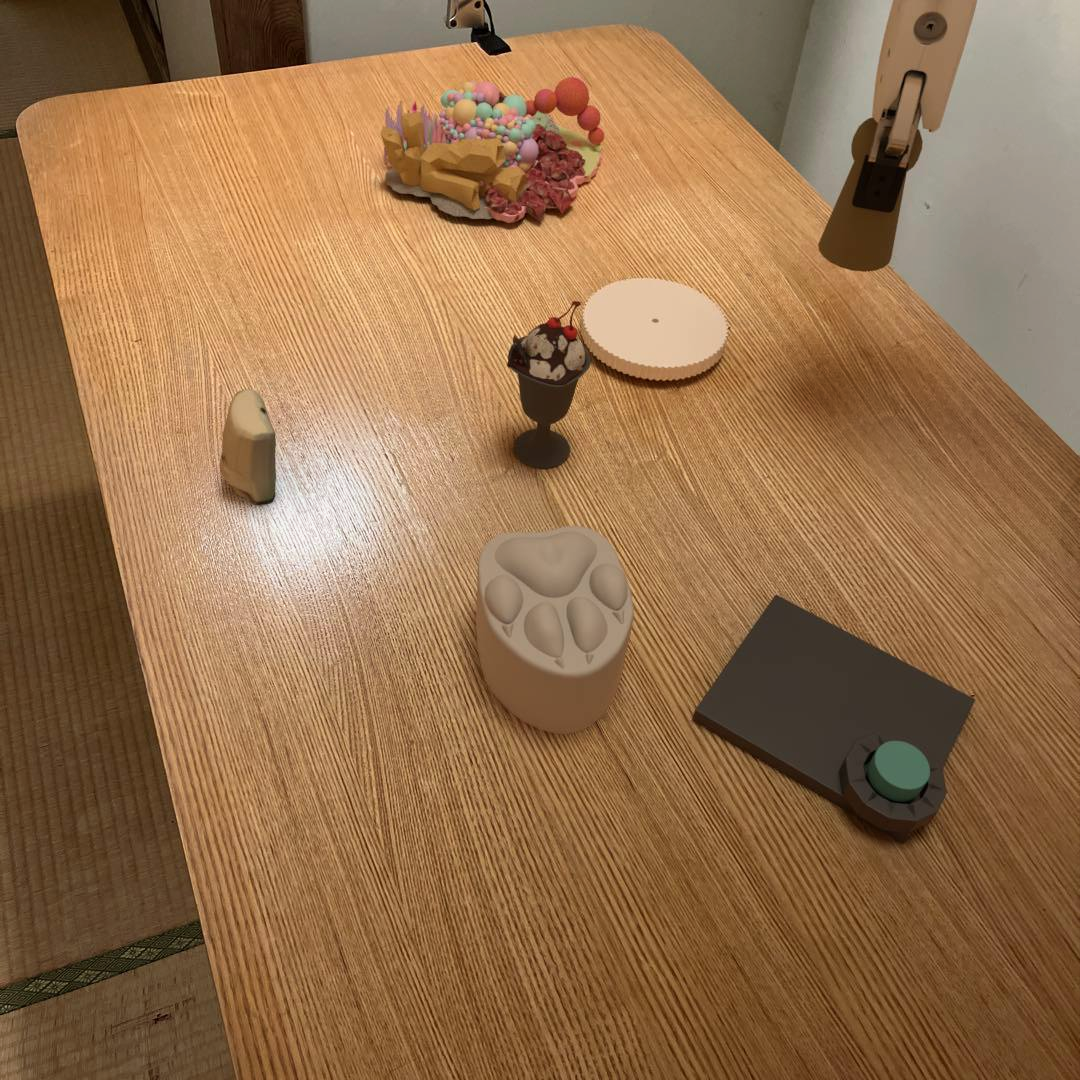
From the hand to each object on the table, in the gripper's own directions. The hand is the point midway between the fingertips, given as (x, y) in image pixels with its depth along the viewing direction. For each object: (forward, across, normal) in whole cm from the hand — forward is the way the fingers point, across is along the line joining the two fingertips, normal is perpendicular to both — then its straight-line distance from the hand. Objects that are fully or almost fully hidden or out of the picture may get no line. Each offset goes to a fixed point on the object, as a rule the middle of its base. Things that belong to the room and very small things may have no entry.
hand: (874, 186), depth 85 cm
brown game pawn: (+6, 0, 0) cm, 6 cm away
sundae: (+21, -15, +22) cm, 34 cm away
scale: (+22, -35, -5) cm, 42 cm away
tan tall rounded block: (+21, -27, +43) cm, 55 cm away
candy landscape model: (+21, +28, +40) cm, 53 cm away
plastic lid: (+21, +3, +16) cm, 27 cm away
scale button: (+19, -41, -9) cm, 46 cm away
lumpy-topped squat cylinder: (+21, -36, +16) cm, 45 cm away
